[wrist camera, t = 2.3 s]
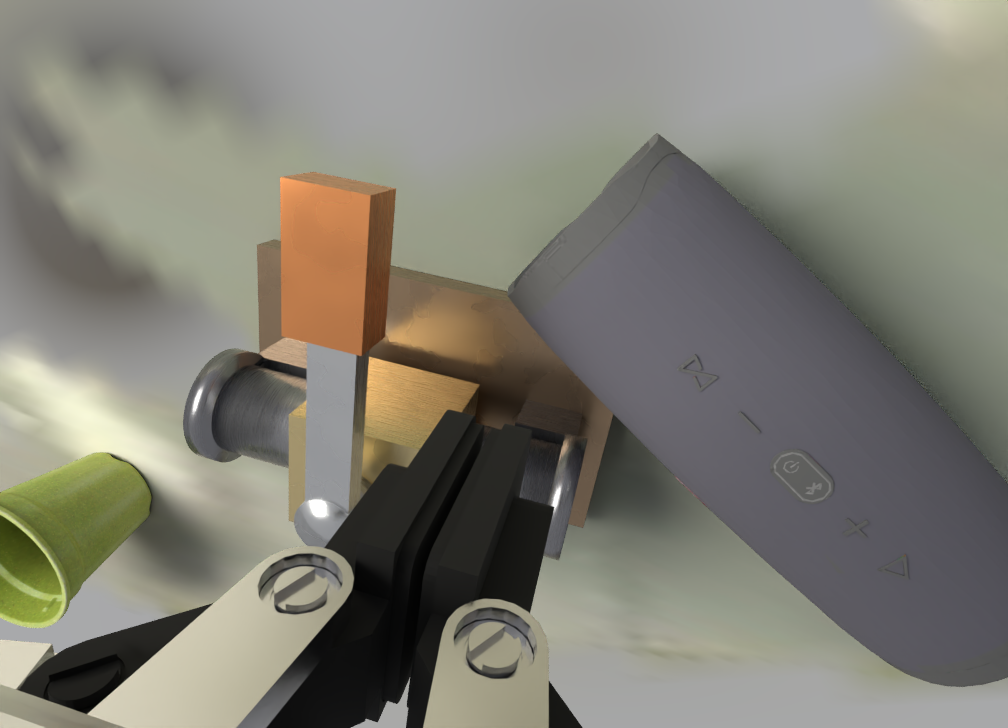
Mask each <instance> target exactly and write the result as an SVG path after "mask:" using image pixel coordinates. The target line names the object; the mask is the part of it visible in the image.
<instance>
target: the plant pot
mask: <svg viewBox="0 0 1008 728" xmlns="http://www.w3.org/2000/svg"><path fill="white" fill-rule="evenodd" d="M150 503H151V493H150V490H149V488H148V486H147V484H146V482H145V481H144V479H143V478H142V476H141V475H140V474H139V473H138V471H137V470H136V469H135V468H134V467H132V466H131V465H130V464H129V463H127V462H123V461H119V460H117V459H115V458H113V457H112V456H111V455H110V454H108V453H94V454H91V455H88V456H86V457H84V458H81V459H79V460H76V461H74V462H71V463H69V464H67V465H64V466H62V467H60V468H58V469H55V470H53V471H50V472H48V473H46V474H43V475H41V476H38V477H36V478H34V479H31V480H29V481H26V482H24V483H22V484H19V485H17V486H14V487H12V488H9V489H7V490H4V491H2V492H0V618H2V619H4V620H6V621H9V622H11V623H14V624H17V625H20V626H25V627H29V628H44V627H48V626H50V625H52V624H55V623H56V622H57V621H59V620H60V619H61V618H62V617H63V616H64V614H65V613H66V611H67V609H68V607H69V603H70V600H71V599H72V598H73V597H74V596H75V595H76V594H77V593H78V591H79V590H80V588H81V586H82V584H83V582H84V581H85V580H86V579H87V578H88V577H89V576H90V575H91V574H92V573H93V572H94V571H95V570H96V569H97V568H98V567H99V566H100V565H101V564H102V563H103V562H104V561H105V560H106V559H107V558H108V557H109V556H110V555H111V554H112V553H113V552H114V551H115V550H116V549H117V548H118V547H119V546H120V545H121V544H122V543H123V542H124V541H125V540H126V539H127V538H128V537H129V536H130V535H131V534H132V533H133V532H134V531H135V530H136V529H137V528H138V527H139V526H140V525H141V524H142V523H143V522H144V521H145V520H146V519H147V518H148V516H149V514H150V512H149V507H150Z"/></svg>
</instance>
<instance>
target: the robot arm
mask: <svg viewBox="0 0 1008 728" xmlns="http://www.w3.org/2000/svg"><path fill="white" fill-rule="evenodd" d="M483 436H484V426H483V425H479V424H476V416H473V415H469V414H465V413H461V412H457V411H453V410H447V411H446V412H445V414H444V415H443V416H442V418H441V419H440V421H439V422H438V424H437V425H436V427H435V428H434V430H433V431H432V432H431V434H430V435H429V437H428V438H427V440H426V441H425V443H424V444H423V446H422V447H421V449H420V450H419V451H418V453H417V454H416V456H415V457H414V459H413V460H412V462H411V463H410V465H409V466H408V467H403V466H400V465H396V464H392V463H390V464H388V465H387V466H386V467H385V468H384V469H383V470H382V471H381V473H380V474H379V475H378V477H377V478H376V479H375V481H374V482H373V483H372V485H371V486H370V487H369V489H368V490H367V491H366V493H365V494H364V495H363V497H362V498H361V499H360V501H359V502H358V503H357V505H356V506H355V507H354V509H353V510H352V511H351V513H350V514H349V515H348V517H347V518H346V519H345V521H344V522H343V523H342V525H341V526H340V527H339V529H338V530H337V531H336V533H335V534H334V535H333V537H332V538H331V539H330V541H329V542H328V543H327V545H326V546H325V547H324V548H322V547H316V546H300V547H294V548H288V549H285V550H282V551H280V552H277V553H275V554H272V555H271V556H269V557H268V558H266V559H265V560H263V561H262V562H260V563H259V564H258V565H257V566H256V567H255V568H253V569H252V570H251V571H250V572H249V573H248V574H247V575H245V576H244V577H243V578H242V579H241V580H240V581H239V582H237V583H236V584H235V585H234V586H233V587H232V588H231V589H229V590H228V591H227V592H226V593H225V594H224V595H223V596H221V597H220V598H219V599H218V600H217V601H216V602H215V603H213V604H209V605H206V606H203V607H199V608H196V609H192V610H189V611H186V612H182V613H179V614H175V615H172V616H169V617H165V618H162V619H158V620H155V621H152V622H148V623H145V624H141V625H138V626H135V627H132V628H128V629H124V630H121V631H118V632H114V633H111V634H107V635H104V636H101V637H97V638H94V639H90V640H87V641H85V642H82V643H79V644H77V645H74V646H72V647H69V648H66V649H64V650H63V651H61V652H59V653H54V650H53V646H52V644H46V643H35V642H23V641H12V640H0V728H351V727H353V726H355V725H357V724H360V723H362V722H364V721H365V719H369V720H372V721H375V722H378V720H379V718H380V716H381V714H382V712H383V709H384V707H385V705H386V702H387V701H390V702H393V703H396V704H397V703H398V702H399V701H400V699H401V697H402V694H403V692H404V690H405V687H406V685H407V683H408V680H409V678H410V684H409V692H408V700H407V707H408V708H409V709H408V716H407V725H406V728H582V726H581V725H580V724H579V722H578V721H577V719H576V718H575V717H574V715H573V714H572V712H571V711H570V710H569V708H568V707H567V705H566V704H565V703H564V701H563V700H562V698H561V697H560V696H559V694H558V693H557V692H556V690H555V689H554V687H553V686H552V684H551V683H550V682H549V649H548V643H547V638H546V635H545V633H544V631H543V629H542V627H541V625H540V624H539V622H538V621H537V620H536V619H535V618H534V617H533V616H532V615H531V614H530V610H531V606H532V602H533V597H534V593H535V589H536V585H537V580H538V576H539V572H540V567H541V563H542V559H543V554H544V550H545V546H546V542H547V537H548V533H549V529H550V524H551V520H552V516H553V512H554V506H550V505H546V504H542V503H539V502H535V501H531V500H527V499H524V498H520V497H519V496H520V491H521V486H522V481H523V476H524V471H525V466H526V461H527V456H528V451H529V447H530V442H531V436H532V430H529V429H525V428H521V427H517V426H513V425H509V424H504V425H503V427H502V429H501V430H499V429H495V428H492V429H491V431H490V433H489V435H488V437H487V439H486V441H485V443H484V445H483V447H482V442H483ZM481 448H482V449H481Z"/></svg>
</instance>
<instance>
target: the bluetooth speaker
mask: <svg viewBox="0 0 1008 728" xmlns="http://www.w3.org/2000/svg"><path fill="white" fill-rule="evenodd" d="M507 296H508V297H509V299H510V300H511V301H512V302H513V304H514V305H515V306H516V307H517V309H518V310H519V311H520V313H521V314H522V315H523V317H524V318H525V319H526V321H527V322H528V323H529V324H530V326H531V327H532V328H533V329H534V330H535V331H536V332H537V334H538V335H539V336H540V337H541V338H542V339H543V341H544V342H545V343H546V344H547V345H548V346H549V347H550V348H551V349H552V351H553V352H554V353H555V354H556V355H557V356H558V357H559V358H560V359H561V360H562V361H563V362H564V363H565V364H566V365H567V366H568V367H569V368H570V369H571V370H572V371H573V372H574V374H575V375H576V376H577V377H578V378H579V379H580V380H581V381H582V382H583V383H584V384H585V385H586V386H587V387H588V388H589V389H590V390H591V391H592V392H593V393H594V394H595V396H596V397H597V398H598V399H599V400H600V401H601V402H602V403H603V404H604V405H605V406H606V407H607V408H608V409H609V410H610V411H611V412H612V413H613V414H614V415H615V416H616V417H617V418H618V419H619V420H620V421H621V422H622V423H623V424H624V425H625V426H626V427H627V428H628V429H629V430H630V431H631V432H632V433H633V434H634V435H635V436H636V437H637V438H638V439H639V440H640V441H641V442H642V443H643V444H644V445H645V446H646V447H647V449H648V450H649V451H650V452H651V453H652V454H653V455H654V456H655V457H656V458H657V459H658V460H659V461H660V462H661V463H662V464H663V465H664V466H665V467H666V468H668V469H669V470H670V471H671V472H672V473H673V474H674V475H675V477H676V478H677V479H678V480H679V481H680V482H681V483H682V484H683V485H684V486H685V487H686V488H687V489H688V490H689V491H691V492H692V493H693V495H694V496H696V497H697V498H698V499H699V500H700V501H701V502H702V503H703V504H704V505H705V506H706V507H708V508H709V509H710V510H711V511H712V512H713V513H714V514H715V515H716V516H717V517H719V518H720V519H721V520H722V521H723V522H724V523H725V524H726V525H727V526H728V527H729V528H730V529H731V530H733V531H734V532H735V533H736V534H737V535H738V536H739V537H740V538H741V539H742V540H743V541H744V542H746V543H747V544H748V545H749V546H750V547H751V548H752V549H753V550H754V551H755V552H756V553H757V554H759V555H760V556H761V557H762V558H763V559H764V560H765V561H766V562H767V563H768V564H769V565H770V566H772V567H773V568H774V569H775V570H776V571H777V572H778V573H779V574H781V575H782V576H783V577H784V578H785V579H786V580H787V581H789V582H790V583H791V584H792V585H793V586H794V587H795V588H797V589H798V590H799V591H800V592H801V593H802V594H803V595H804V596H806V597H807V598H808V599H809V600H810V601H811V602H812V603H814V604H815V605H816V606H817V607H818V608H819V609H820V610H821V611H823V612H824V613H825V614H826V615H827V616H828V617H829V618H831V619H832V620H833V621H834V622H835V623H836V624H837V625H839V626H840V627H841V628H842V629H843V630H845V631H846V632H847V633H848V634H850V635H851V636H852V637H854V638H855V639H856V640H857V641H859V642H860V643H861V644H862V645H864V646H865V647H866V648H868V649H869V650H870V651H872V652H873V653H875V654H876V655H878V656H879V657H880V658H882V659H883V660H884V661H886V662H887V663H889V664H890V665H892V666H894V667H895V668H897V669H899V670H901V671H902V672H904V673H906V674H908V675H910V676H913V677H916V678H919V679H921V680H924V681H927V682H930V683H933V684H939V685H944V686H956V687H965V686H974V685H982V684H987V683H991V682H995V681H999V680H1001V679H1004V678H1007V677H1008V484H1007V483H1006V481H1005V480H1004V479H1003V478H1002V477H1001V476H1000V474H999V473H998V472H997V471H996V470H995V469H994V468H993V466H992V465H991V464H990V463H989V462H988V461H987V459H986V458H985V457H984V456H983V455H982V454H981V452H980V451H979V450H978V449H977V448H976V447H975V446H974V444H973V443H972V442H971V441H970V440H969V439H968V437H967V436H966V435H965V434H964V433H963V432H962V431H961V429H960V428H959V427H958V426H957V425H956V424H955V423H954V422H953V420H952V419H951V418H950V417H949V416H948V415H947V414H946V413H945V412H944V411H943V410H942V408H941V407H940V406H939V405H938V404H937V403H936V402H935V401H934V400H933V399H932V397H931V396H930V395H929V394H928V393H927V392H926V391H925V390H924V389H923V388H922V387H921V385H920V384H919V383H918V382H917V381H916V380H915V379H914V378H913V377H912V376H911V374H910V373H909V372H908V371H907V370H906V369H905V368H904V367H903V366H902V365H901V364H900V362H899V361H898V360H897V359H896V358H895V357H894V356H893V355H892V354H891V353H890V352H889V351H888V350H887V349H886V348H885V347H884V346H883V345H882V344H881V343H880V342H879V341H878V339H877V338H876V337H875V336H874V335H873V334H872V333H871V332H870V331H869V330H868V329H867V328H866V327H865V326H864V325H863V324H862V323H861V322H860V321H859V320H858V319H857V318H856V317H855V316H854V315H853V314H852V313H851V312H850V311H849V310H848V309H847V308H846V307H845V306H844V305H843V304H842V303H841V302H840V301H839V300H838V299H837V298H836V297H835V296H834V295H833V294H832V293H831V292H830V291H829V290H828V289H827V288H826V287H825V286H824V285H823V284H822V283H821V282H820V281H819V280H818V279H817V278H816V277H815V276H814V275H813V274H812V273H811V272H810V271H809V270H808V269H807V268H806V267H805V266H804V265H803V264H802V263H801V262H800V261H799V260H798V259H797V258H796V257H795V256H794V255H793V254H792V253H791V252H790V251H789V250H788V249H787V248H786V247H785V246H784V245H783V244H782V243H781V242H779V241H778V240H777V239H776V238H775V237H774V236H773V235H772V234H771V233H770V232H769V231H768V230H767V229H766V228H765V227H764V226H763V225H762V224H761V223H760V222H759V221H758V220H756V219H755V218H754V217H753V216H752V215H751V214H750V213H749V212H748V211H747V210H746V209H745V208H744V207H743V206H742V205H741V204H740V203H739V202H738V201H737V200H736V199H734V198H733V197H732V196H731V195H730V194H729V193H728V192H727V191H726V190H725V189H724V188H723V187H722V186H721V185H720V184H718V183H717V182H716V181H715V180H714V179H713V178H712V177H711V176H710V175H709V174H708V173H706V172H705V171H704V170H703V169H702V168H701V167H700V166H699V165H697V164H696V163H695V162H693V161H692V160H691V159H690V158H688V157H687V156H686V155H684V154H683V153H682V152H681V151H680V150H678V149H677V148H676V147H674V146H673V145H672V144H671V143H669V142H668V141H667V140H665V139H664V138H663V137H662V136H660V135H659V134H658V133H657V134H655V135H654V136H653V137H652V138H651V139H650V140H649V141H648V142H647V143H646V144H645V145H644V146H643V147H642V148H641V149H640V150H639V151H638V152H637V153H636V154H635V155H634V156H633V157H632V158H631V159H630V160H629V161H628V162H627V163H626V164H625V165H624V166H623V167H622V168H621V169H620V170H619V171H618V172H617V173H616V174H615V175H614V177H613V178H612V179H611V180H610V181H609V182H608V184H607V185H606V187H605V188H604V190H603V191H602V193H601V194H600V195H599V196H598V197H597V198H596V199H595V200H594V201H593V202H592V203H591V204H590V206H589V207H588V208H587V209H586V210H585V211H584V212H583V213H582V214H581V215H580V216H579V217H578V218H577V219H576V220H574V221H573V222H572V223H571V224H569V225H568V226H567V227H565V228H564V229H563V230H561V231H560V232H559V233H558V235H557V236H556V237H555V238H554V239H553V240H552V241H551V242H550V243H549V244H548V245H547V246H546V247H545V248H544V249H543V250H542V251H541V252H540V253H539V255H538V256H537V257H536V258H535V259H534V260H533V261H532V262H531V263H530V264H529V265H528V266H527V267H526V269H525V270H524V271H523V272H522V273H521V274H520V275H519V276H518V277H517V278H516V279H515V281H514V282H513V283H512V284H511V285H510V286H509V288H508V292H507Z"/></svg>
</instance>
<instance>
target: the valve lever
mask: <svg viewBox="0 0 1008 728" xmlns="http://www.w3.org/2000/svg"><path fill="white" fill-rule="evenodd" d="M280 190H281V333H282V336H283V337H287V338H291V339H295V340H299V341H303V342H307V383H306V461H305V501H304V502H303V503H302V504H301V505H300V507H299V508H298V509H297V510H296V513H295V516H294V525H295V529H296V531H297V533H298V535H299V537H300V538H301V540H302V541H303V542H304V543H305V544H306V545H307V546H316V547H322V548H324V547H325V546H326V545H327V543H328V542H329V541H330V539H331V538H332V537H333V535H334V534H335V533H336V531H337V530H338V529H339V527H340V526H341V525H342V523H343V522H344V521H345V519H346V518H347V517H348V515H349V514H350V513H351V511H352V510H353V509H354V507H355V506H356V505H357V503H358V502H359V501H360V499H361V497H360V495H361V478H362V462H363V446H364V430H365V414H366V397H367V381H368V365H369V350H370V349H371V348H372V347H373V346H375V345H376V344H377V343H378V342H380V341H381V340H382V339H383V338H385V332H386V318H387V304H388V291H389V277H390V264H391V250H392V236H393V223H394V209H395V195H396V188H391V187H386V186H381V185H376V184H371V183H366V182H361V181H356V180H351V179H346V178H341V177H336V176H331V175H326V174H321V173H316V172H310V173H303V174H297V175H290V176H284V177H280Z"/></svg>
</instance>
